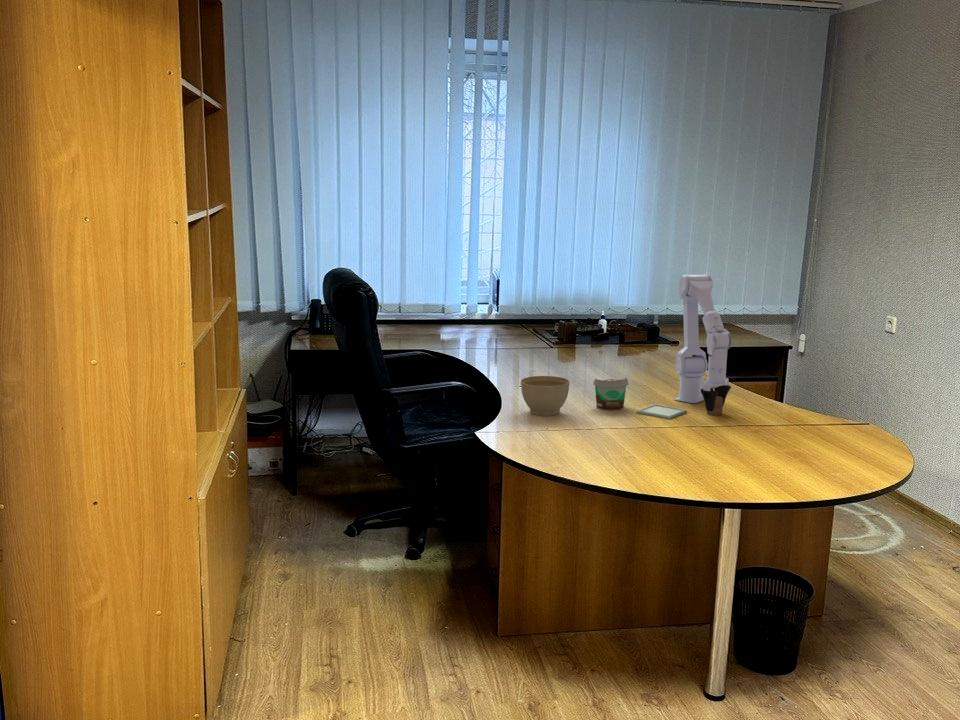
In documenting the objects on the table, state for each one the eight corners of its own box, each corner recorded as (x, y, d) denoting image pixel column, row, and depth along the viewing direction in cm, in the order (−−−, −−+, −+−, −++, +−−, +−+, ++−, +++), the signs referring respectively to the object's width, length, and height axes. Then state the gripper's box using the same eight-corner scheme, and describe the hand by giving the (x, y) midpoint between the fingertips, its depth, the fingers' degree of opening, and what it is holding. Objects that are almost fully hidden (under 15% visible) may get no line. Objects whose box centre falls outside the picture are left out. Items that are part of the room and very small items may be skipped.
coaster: (654, 406, 301) (654, 403, 301) (686, 412, 294) (686, 409, 294) (636, 412, 292) (636, 410, 292) (669, 419, 285) (669, 416, 285)
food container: (599, 411, 293) (600, 382, 291) (592, 407, 299) (593, 378, 297) (633, 409, 297) (634, 380, 295) (625, 405, 302) (627, 376, 300)
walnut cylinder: (710, 411, 295) (711, 395, 294) (724, 413, 292) (725, 397, 291) (704, 414, 292) (705, 397, 290) (718, 416, 289) (719, 400, 287)
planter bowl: (538, 404, 303) (539, 373, 301) (578, 412, 293) (579, 380, 291) (510, 413, 290) (510, 380, 288) (550, 421, 280) (551, 388, 278)
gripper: (719, 373, 281) (716, 414, 283) (738, 366, 292) (735, 406, 294) (698, 370, 285) (696, 411, 288) (718, 363, 296) (715, 403, 299)
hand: (714, 408), depth 291 cm, fingers open, 7 cm apart
